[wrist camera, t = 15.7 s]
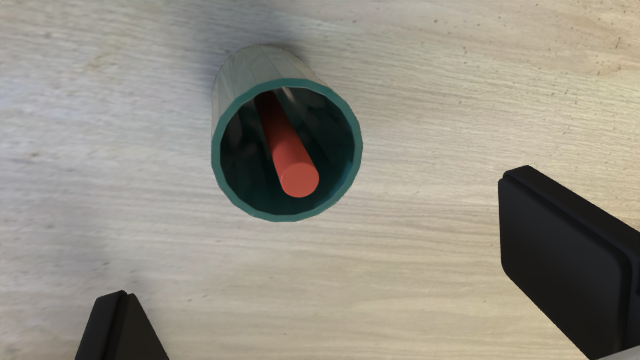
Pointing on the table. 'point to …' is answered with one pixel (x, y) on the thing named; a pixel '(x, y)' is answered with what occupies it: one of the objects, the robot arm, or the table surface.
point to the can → (251, 145)
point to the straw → (286, 147)
